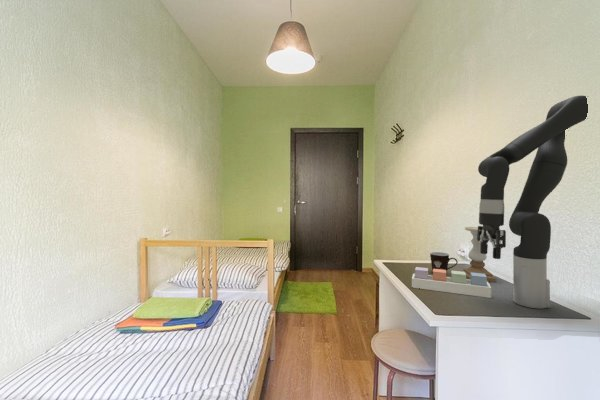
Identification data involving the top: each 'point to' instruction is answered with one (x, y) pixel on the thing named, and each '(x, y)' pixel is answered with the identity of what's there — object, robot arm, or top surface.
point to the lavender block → (421, 273)
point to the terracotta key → (439, 275)
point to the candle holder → (476, 258)
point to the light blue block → (478, 279)
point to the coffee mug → (440, 261)
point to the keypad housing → (452, 286)
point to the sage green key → (458, 277)
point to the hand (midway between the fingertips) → (489, 256)
